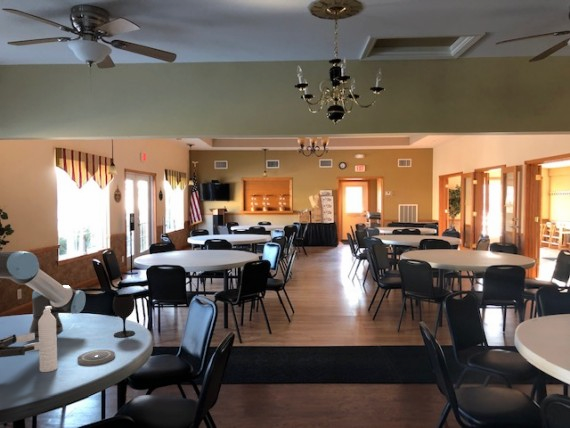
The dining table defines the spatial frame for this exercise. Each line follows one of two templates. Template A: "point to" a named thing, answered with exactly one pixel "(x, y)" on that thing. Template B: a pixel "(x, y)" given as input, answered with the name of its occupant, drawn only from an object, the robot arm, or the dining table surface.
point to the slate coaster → (96, 357)
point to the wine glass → (123, 312)
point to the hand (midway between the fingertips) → (38, 340)
